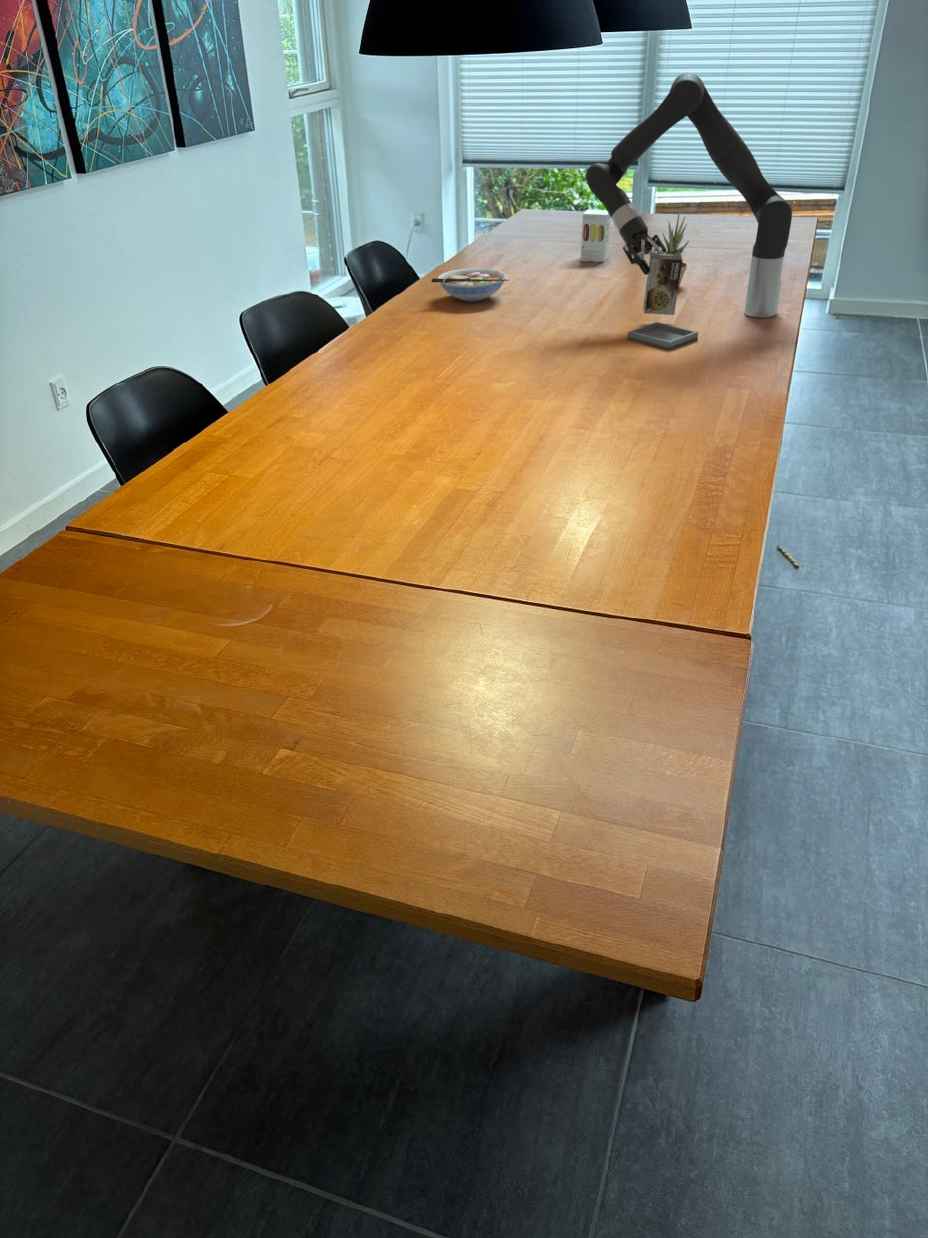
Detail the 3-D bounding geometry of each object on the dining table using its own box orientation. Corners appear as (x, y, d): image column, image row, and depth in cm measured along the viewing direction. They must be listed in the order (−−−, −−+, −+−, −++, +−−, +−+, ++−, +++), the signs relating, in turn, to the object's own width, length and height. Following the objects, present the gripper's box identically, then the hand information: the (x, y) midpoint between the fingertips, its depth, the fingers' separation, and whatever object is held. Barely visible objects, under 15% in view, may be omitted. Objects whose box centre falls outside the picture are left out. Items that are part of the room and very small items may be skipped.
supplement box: (579, 261, 354) (581, 213, 344) (584, 255, 361) (586, 208, 352) (605, 262, 351) (607, 214, 342) (609, 256, 359) (611, 209, 349)
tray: (656, 329, 279) (656, 321, 278) (697, 339, 270) (698, 331, 269) (627, 339, 272) (628, 331, 271) (669, 350, 263) (669, 342, 262)
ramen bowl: (511, 289, 322) (511, 265, 318) (507, 308, 303) (507, 282, 299) (439, 290, 325) (438, 265, 320) (431, 308, 306) (430, 282, 301)
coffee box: (672, 309, 285) (681, 253, 276) (674, 315, 279) (683, 259, 270) (642, 307, 285) (650, 251, 276) (643, 313, 280) (652, 257, 271)
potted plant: (687, 289, 316) (695, 210, 302) (659, 290, 316) (665, 211, 302) (682, 281, 324) (689, 204, 310) (654, 282, 324) (660, 205, 311)
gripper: (621, 219, 270) (649, 266, 269) (652, 211, 278) (680, 257, 277) (606, 236, 277) (634, 282, 276) (637, 228, 284) (664, 273, 283)
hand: (657, 270), depth 276 cm, fingers closed on coffee box, 8 cm apart
